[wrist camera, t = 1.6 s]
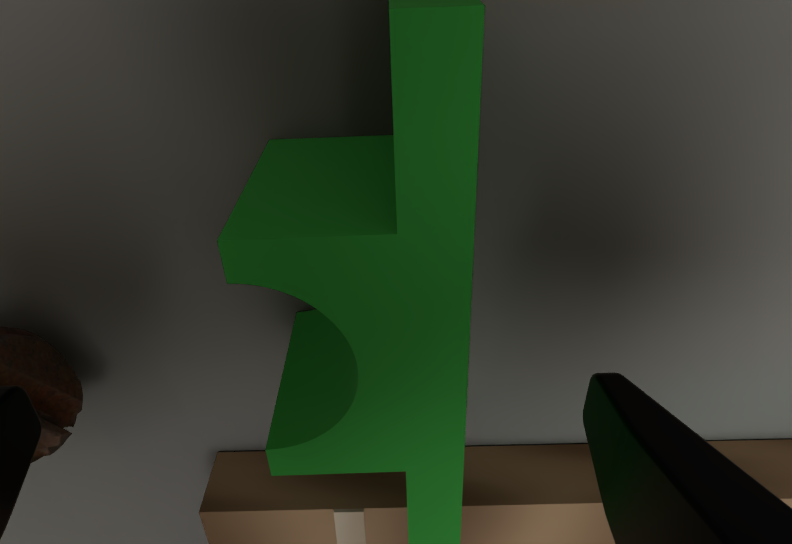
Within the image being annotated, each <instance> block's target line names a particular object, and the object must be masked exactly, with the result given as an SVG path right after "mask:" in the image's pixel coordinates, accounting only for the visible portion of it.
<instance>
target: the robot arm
mask: <svg viewBox="0 0 792 544" xmlns="http://www.w3.org/2000/svg"><path fill="white" fill-rule="evenodd" d="M583 423H584V428H585V432H586V436H587V441H588V445H589V449H590V453H591V458H592V462H593V466H594V470H595V474H596V479H597V483H598V487H599V491H600V496H601V500H602V504H603V508H604V511H605V515H606V518H607V521H608V524H609V527H610V530H611V533H612V536H613V539H614V541H615V544H792V508H791V507H789V506H788V505H787V504H786V503H784V502H783V501H782V500H781V499H779V498H778V497H777V496H775V495H774V494H773V493H772V492H770V491H769V490H768V489H767V488H765V487H764V486H763V485H761V484H760V483H759V482H758V481H756V480H755V479H754V478H753V477H751V476H750V475H749V474H747V473H746V472H745V471H744V470H742V469H741V468H740V467H739V466H737V465H736V464H735V463H734V462H732V461H731V460H730V459H728V458H727V457H726V456H725V455H723V454H722V453H721V452H720V451H718V450H717V449H716V448H714V447H713V446H712V445H711V444H709V443H708V442H707V441H706V440H704V439H703V438H702V437H700V436H699V435H698V434H697V433H695V432H694V431H693V430H692V429H690V428H689V427H688V426H686V425H685V424H684V423H683V422H681V421H680V420H679V419H678V418H676V417H675V416H674V415H672V414H671V413H670V412H669V411H667V410H666V409H665V408H664V407H662V406H661V405H660V404H658V403H657V402H656V401H655V400H653V399H652V398H651V397H650V396H648V395H647V394H646V393H644V392H643V391H642V390H641V389H639V388H638V387H637V386H636V385H634V384H633V383H632V382H630V381H629V380H628V379H627V378H625V377H624V376H623V375H621V374H619V373H596V374H594V375H592V377H591V379H590V382H589V387H588V391H587V396H586V400H585V404H584V409H583ZM41 431H42V426H41V421H40V419H39V417H38V415H37V413H36V410H35V408H34V406H33V404H32V402H31V400H30V398H29V396H28V394H27V392H26V391H25V389H23V388H22V387H21V386H0V539H1V537H2V535H3V533H4V530H5V528H6V526H7V523H8V521H9V519H10V516H11V514H12V511H13V509H14V506H15V503H16V501H17V498H18V495H19V493H20V490H21V487H22V485H23V482H24V479H25V477H26V474H27V471H28V469H29V466H30V463H31V461H32V458H33V456H34V453H35V450H36V448H37V445H38V442H39V440H40V436H41Z"/></svg>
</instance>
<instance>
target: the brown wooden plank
mask: <svg viewBox="0 0 792 544" xmlns="http://www.w3.org/2000/svg"><path fill="white" fill-rule="evenodd" d="M707 442H708V443H709V444H711V445H712V446H713V447H714V448H716V449H717V450H718V451H720V452H721V453H722V454H723V455H725V456H726V457H727V458H728V459H730V460H731V461H732V462H734V463H735V464H736V465H737V466H739V467H740V468H741V469H742V470H744V471H745V472H746V473H747V474H749V475H750V476H751V477H753V478H754V479H755V480H756V481H758V482H759V483H760V484H761V485H763V486H764V487H765V488H767V489H768V490H769V491H770V492H772V493H773V494H774V495H775V496H777V497H778V498H779V499H781V500H782V501H783V502H784V503H786V504H787V505H788V506H789V507H791V508H792V439H785V440H741V441H707ZM199 514H200V517H201V520H202V523H203V526H204V530H205V533H206V536H207V539H208V542H209V544H409V543H408V516H407V489H406V471H404V472H375V473H345V474H315V475H285V476H271V472H270V468H269V463H268V459H267V455H266V451H251V452H218V453H217V456H216V459H215V462H214V466H213V469H212V472H211V475H210V478H209V482H208V485H207V488H206V491H205V494H204V498H203V501H202V504H201V507H200V510H199ZM460 544H615V541H614V539H613V536H612V533H611V530H610V527H609V524H608V521H607V518H606V515H605V511H604V508H603V504H602V500H601V496H600V491H599V487H598V483H597V479H596V474H595V470H594V466H593V462H592V458H591V453H590V449H589V445H588V444H563V445H518V446H473V447H465V450H464V472H463V494H462V516H461V538H460Z"/></svg>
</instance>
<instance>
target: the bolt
mask: <svg viewBox="0 0 792 544" xmlns="http://www.w3.org/2000/svg"><path fill="white" fill-rule="evenodd" d="M0 386H21V387H22V388H23V389H25V391H26V392H27V394H28V396H29V398H30V400H31V402H32V404H33V406H34V408H35V410H36V413H37V415H38V417H39V419H40V421H41V426H42V431H41V436H40V440H39V442H38V445H37V448H36V450H35V453H34V456H33V458H32V461H31V463H32V462H34V461H36V460H38V459H39V458H41V457H43V456H47V455H51V454H52V453H54V452H55V451H56V450H57V449H58V448H59V447H61V446H62V445H63V444H64V442H65V441H66V439H67V438H68V437H69V436H70V435H71V434H72V433H70V432H69V431H67V430H65V429H63V428H64V427H68V426H71V427H74V424H75V421H76V416H77V414H78V413H79V412H80V411H81V410H82V401H83V393H82V387H81V382H80V381H79V379H78V377H77V376H76V374H75V373H74V371H73V369H72V368H71V366H70V365H69V364H68V362H67V361H66V360H65V359H64V357H63V356H62V355H61V354H60V353H59V352H58V351H56V350H55V349H54V348H53V347H52V346H51V345H50V344H48V343H47V342H46V341H44V340H43V339H41V338H40V337H39V336H37V335H35V334H33V333H31V332H28V331H25V330H21V329H17V328H8V327H0Z"/></svg>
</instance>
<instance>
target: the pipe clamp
mask: <svg viewBox="0 0 792 544" xmlns="http://www.w3.org/2000/svg"><path fill="white" fill-rule="evenodd" d="M484 14H485V5H484V4H483V3H482V2H481V1H480V0H389V26H390V53H391V80H392V107H393V135H380V136H354V137H327V138H301V139H274V140H269V141H268V143H267V145H266V147H265V149H264V151H263V153H262V155H261V157H260V159H259V161H258V163H257V165H256V167H255V169H254V170H253V172H252V174H251V176H250V178H249V180H248V182H247V184H246V186H245V188H244V190H243V192H242V194H241V196H240V197H239V199H238V201H237V203H236V205H235V207H234V209H233V211H232V213H231V215H230V217H229V219H228V221H227V223H226V225H225V226H224V228H223V230H222V232H221V234H220V236H219V238H218V240H217V242H218V247H219V251H220V255H221V260H222V264H223V268H224V273H225V277H226V281H227V284H248V285H256V286H261V287H267V288H270V289H274V290H278V291H281V292H284V293H286V294H289V295H292V296H294V297H296V298H298V299H300V300H302V301H304V302H306V303H308V304H309V305H311V306H313V307H314V308H316V309H315V310H310V311H304V312H296V317H295V321H294V325H293V330H292V334H291V339H290V343H289V348H288V352H287V356H286V361H285V365H284V370H283V374H282V379H281V383H280V387H279V392H278V396H277V401H276V405H275V410H274V414H273V418H272V423H271V427H270V432H269V436H268V441H267V445H266V449H265V450H266V455H267V459H268V463H269V468H270V472H271V476H285V475H315V474H345V473H375V472H404V471H406V489H407V516H408V543H409V544H460V538H461V516H462V494H463V472H464V450H465V428H466V407H467V385H468V363H469V341H470V319H471V298H472V276H473V254H474V232H475V210H476V188H477V167H478V145H479V123H480V101H481V79H482V57H483V36H484Z"/></svg>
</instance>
